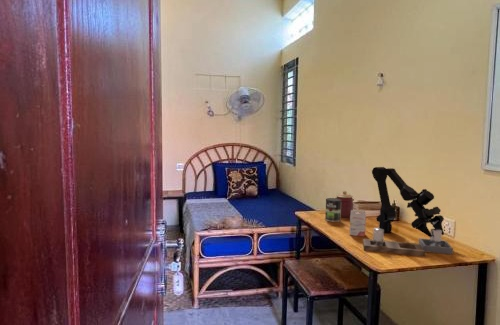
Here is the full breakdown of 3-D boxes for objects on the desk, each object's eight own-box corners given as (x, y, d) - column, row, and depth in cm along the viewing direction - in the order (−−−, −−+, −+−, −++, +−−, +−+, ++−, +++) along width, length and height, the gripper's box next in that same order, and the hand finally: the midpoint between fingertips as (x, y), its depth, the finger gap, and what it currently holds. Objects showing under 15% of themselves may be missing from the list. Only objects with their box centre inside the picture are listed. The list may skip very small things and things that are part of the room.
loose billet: (430, 250, 180) (431, 230, 179) (428, 246, 184) (429, 228, 183) (441, 251, 178) (442, 231, 177) (439, 247, 183) (440, 229, 182)
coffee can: (337, 222, 231) (338, 201, 230) (322, 220, 237) (323, 199, 235) (342, 219, 239) (343, 199, 238) (328, 217, 245) (329, 197, 244)
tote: (423, 251, 177) (424, 245, 176) (418, 243, 189) (419, 238, 189) (452, 254, 173) (453, 248, 173) (445, 246, 186) (445, 240, 186)
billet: (372, 249, 179) (373, 230, 178) (372, 246, 184) (373, 227, 183) (383, 250, 178) (384, 230, 177) (382, 247, 183) (383, 228, 182)
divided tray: (363, 250, 177) (364, 245, 177) (362, 243, 189) (363, 238, 188) (424, 256, 170) (425, 251, 170) (419, 248, 181) (420, 243, 181)
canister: (349, 218, 243) (351, 193, 241) (331, 215, 250) (332, 191, 248) (355, 215, 253) (356, 190, 252) (338, 212, 260) (338, 188, 259)
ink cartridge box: (365, 234, 205) (366, 209, 204) (364, 236, 200) (366, 211, 199) (349, 232, 208) (351, 208, 207) (349, 235, 203) (350, 210, 202)
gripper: (417, 202, 179) (435, 229, 170) (441, 200, 187) (460, 225, 178) (403, 214, 187) (420, 240, 178) (427, 211, 195) (445, 236, 186)
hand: (437, 235), depth 180 cm, fingers open, 9 cm apart
